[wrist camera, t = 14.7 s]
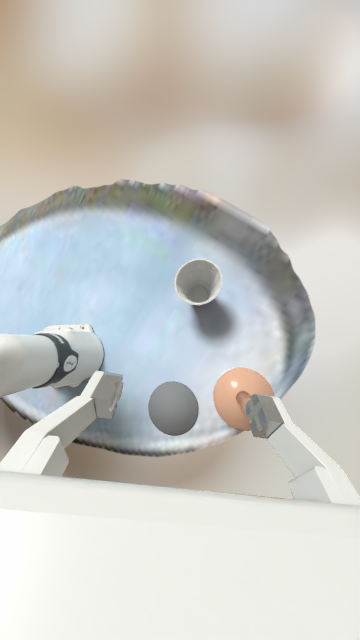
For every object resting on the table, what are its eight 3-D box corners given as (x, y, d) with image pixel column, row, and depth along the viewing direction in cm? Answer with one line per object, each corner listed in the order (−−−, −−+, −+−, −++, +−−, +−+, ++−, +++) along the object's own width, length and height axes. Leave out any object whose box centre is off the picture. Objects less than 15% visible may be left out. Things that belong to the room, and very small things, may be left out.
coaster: (144, 427, 44) (144, 428, 44) (153, 377, 46) (153, 377, 45) (193, 440, 42) (193, 441, 42) (201, 387, 44) (201, 387, 44)
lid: (209, 420, 34) (215, 464, 22) (217, 362, 35) (227, 373, 23) (269, 434, 32) (312, 490, 20) (275, 373, 34) (319, 391, 21)
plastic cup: (179, 279, 49) (172, 260, 37) (215, 276, 47) (220, 254, 36) (180, 315, 47) (174, 306, 35) (218, 312, 46) (225, 302, 34)
